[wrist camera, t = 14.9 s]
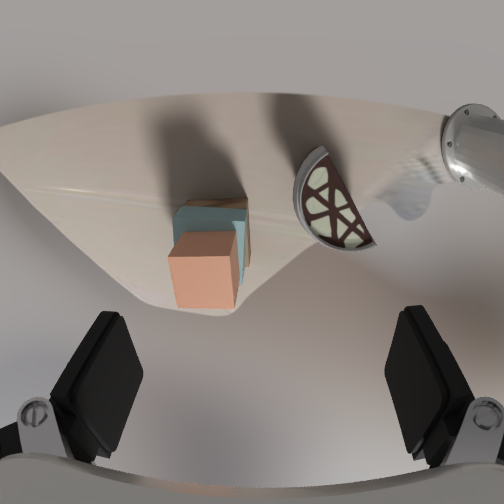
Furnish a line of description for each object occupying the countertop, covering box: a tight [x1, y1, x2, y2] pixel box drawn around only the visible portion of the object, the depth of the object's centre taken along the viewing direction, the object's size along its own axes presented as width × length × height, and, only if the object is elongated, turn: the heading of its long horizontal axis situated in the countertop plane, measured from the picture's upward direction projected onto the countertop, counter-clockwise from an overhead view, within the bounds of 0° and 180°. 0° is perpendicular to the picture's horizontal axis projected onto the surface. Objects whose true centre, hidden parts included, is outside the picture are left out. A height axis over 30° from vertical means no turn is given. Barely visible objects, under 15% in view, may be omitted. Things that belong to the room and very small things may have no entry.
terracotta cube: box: [168, 231, 240, 309], centre depth 34 cm, size 6×6×6 cm
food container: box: [293, 145, 377, 252], centre depth 36 cm, size 12×6×10 cm, turn 33°
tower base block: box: [184, 198, 251, 267], centre depth 42 cm, size 8×8×4 cm
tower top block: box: [173, 206, 247, 285], centre depth 38 cm, size 8×8×4 cm
